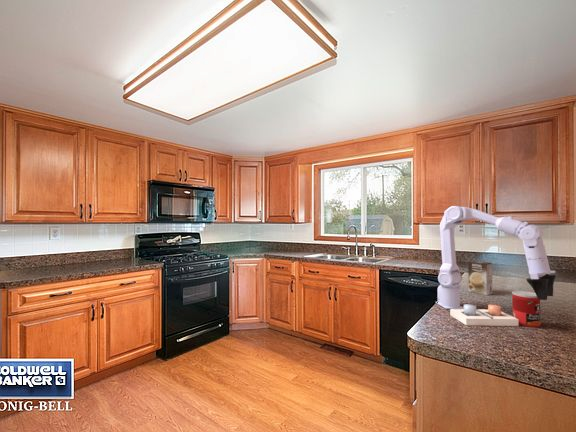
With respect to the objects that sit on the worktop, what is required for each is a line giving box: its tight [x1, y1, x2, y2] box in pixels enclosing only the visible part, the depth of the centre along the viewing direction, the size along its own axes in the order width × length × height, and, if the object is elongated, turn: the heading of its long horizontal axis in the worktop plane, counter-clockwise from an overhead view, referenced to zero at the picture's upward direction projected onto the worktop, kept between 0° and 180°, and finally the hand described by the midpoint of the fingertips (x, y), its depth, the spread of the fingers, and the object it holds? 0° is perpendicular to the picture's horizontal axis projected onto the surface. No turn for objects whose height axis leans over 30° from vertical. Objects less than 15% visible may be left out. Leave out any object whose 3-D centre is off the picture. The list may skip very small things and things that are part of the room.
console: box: [449, 308, 520, 327], centre depth 106 cm, size 11×18×3 cm, turn 87°
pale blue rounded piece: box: [463, 303, 477, 316], centre depth 106 cm, size 4×4×4 cm
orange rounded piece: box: [487, 303, 502, 316], centre depth 105 cm, size 4×4×4 cm
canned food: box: [511, 290, 542, 328], centre depth 102 cm, size 8×8×11 cm
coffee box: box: [467, 260, 493, 296], centre depth 146 cm, size 9×6×16 cm
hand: (545, 297), depth 98 cm, fingers open, 7 cm apart
